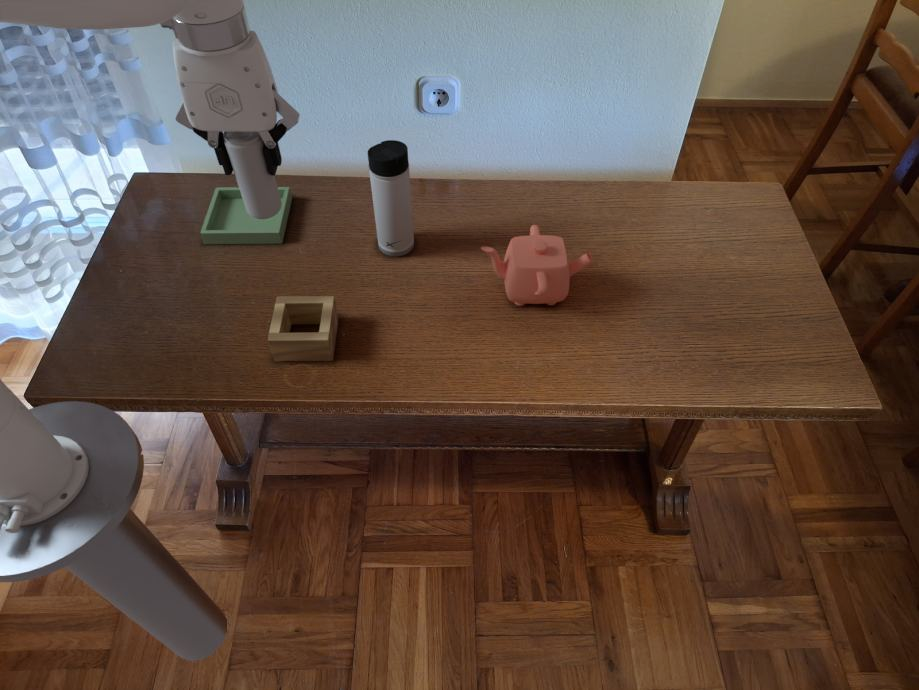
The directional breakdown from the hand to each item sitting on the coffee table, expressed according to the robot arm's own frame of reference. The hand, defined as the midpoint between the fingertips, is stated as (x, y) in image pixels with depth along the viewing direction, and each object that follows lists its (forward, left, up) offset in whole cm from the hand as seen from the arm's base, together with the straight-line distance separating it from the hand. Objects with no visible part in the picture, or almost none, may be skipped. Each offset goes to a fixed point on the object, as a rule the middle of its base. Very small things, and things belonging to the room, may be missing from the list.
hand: (252, 167), depth 84 cm
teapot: (+4, -39, -27) cm, 48 cm away
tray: (+22, +11, -27) cm, 37 cm away
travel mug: (+15, -16, -27) cm, 35 cm away
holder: (-6, -3, -27) cm, 28 cm away
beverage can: (0, 0, -7) cm, 7 cm away
